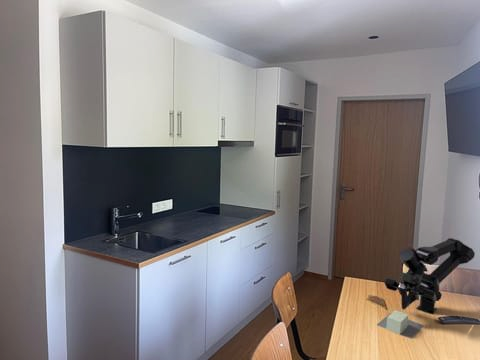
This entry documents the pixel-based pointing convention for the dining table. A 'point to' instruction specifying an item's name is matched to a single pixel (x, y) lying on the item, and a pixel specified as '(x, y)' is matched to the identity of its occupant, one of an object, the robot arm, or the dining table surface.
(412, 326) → the rubber mat
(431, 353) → the dining table surface
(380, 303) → the shard
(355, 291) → the dining table surface
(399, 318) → the sage block
